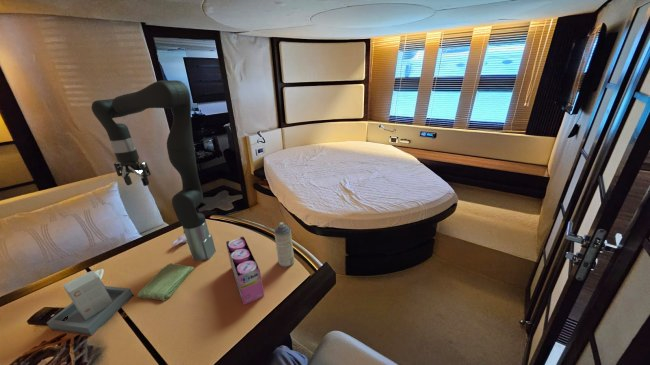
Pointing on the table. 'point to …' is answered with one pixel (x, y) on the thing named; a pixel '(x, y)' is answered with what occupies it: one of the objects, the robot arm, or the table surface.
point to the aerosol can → (284, 245)
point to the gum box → (245, 270)
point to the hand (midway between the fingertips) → (138, 184)
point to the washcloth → (165, 282)
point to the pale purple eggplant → (180, 240)
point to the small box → (88, 294)
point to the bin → (92, 324)
